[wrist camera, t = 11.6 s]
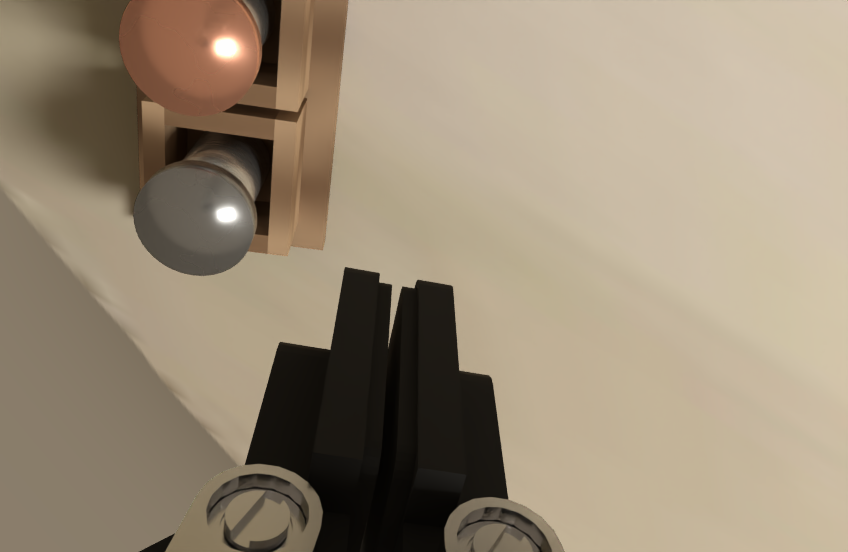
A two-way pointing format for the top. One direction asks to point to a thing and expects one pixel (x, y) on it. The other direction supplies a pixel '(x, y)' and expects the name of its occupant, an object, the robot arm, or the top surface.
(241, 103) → the socket board
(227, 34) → the plug mid
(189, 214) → the plug
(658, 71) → the top surface
